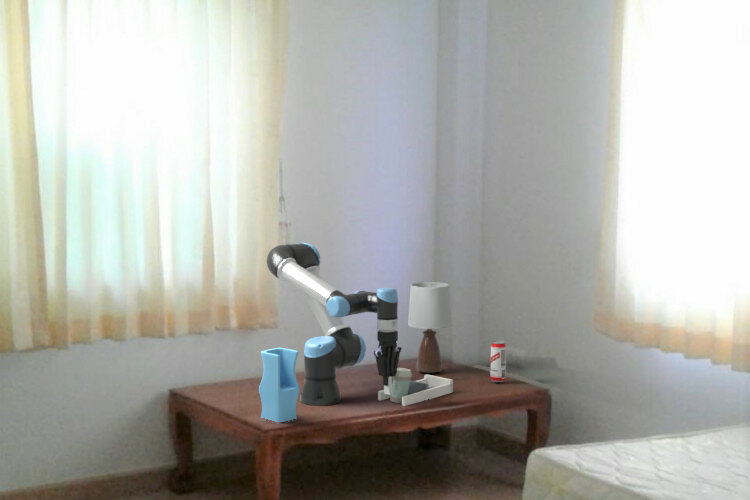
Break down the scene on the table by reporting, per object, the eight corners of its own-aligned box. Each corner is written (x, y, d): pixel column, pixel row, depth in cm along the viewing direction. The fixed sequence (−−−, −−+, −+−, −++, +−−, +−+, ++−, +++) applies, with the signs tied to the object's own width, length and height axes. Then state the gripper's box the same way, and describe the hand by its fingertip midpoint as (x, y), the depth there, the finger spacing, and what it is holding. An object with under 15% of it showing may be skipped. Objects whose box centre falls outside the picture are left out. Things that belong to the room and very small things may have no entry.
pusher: (425, 397, 345) (426, 384, 344) (407, 393, 351) (407, 380, 350) (442, 392, 352) (442, 379, 352) (424, 388, 358) (424, 376, 358)
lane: (404, 407, 333) (404, 393, 332) (378, 400, 341) (378, 387, 341) (452, 392, 354) (453, 379, 353) (427, 386, 363) (427, 374, 362)
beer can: (498, 383, 368) (499, 344, 366) (487, 380, 372) (487, 342, 371) (508, 380, 372) (509, 342, 370) (497, 378, 376) (497, 340, 375)
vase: (278, 428, 306) (277, 355, 304) (259, 423, 313) (258, 351, 310) (299, 422, 314) (299, 351, 311) (280, 416, 320) (279, 347, 318)
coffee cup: (383, 398, 342) (385, 367, 341) (403, 398, 345) (406, 367, 345) (392, 404, 334) (395, 372, 333) (413, 403, 338) (416, 372, 337)
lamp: (410, 364, 402) (410, 281, 398) (452, 365, 399) (452, 282, 395) (405, 374, 383) (405, 287, 380) (449, 375, 381) (450, 288, 377)
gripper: (383, 333, 325) (383, 398, 327) (406, 329, 334) (407, 392, 336) (367, 331, 330) (368, 395, 332) (391, 327, 339) (392, 389, 341)
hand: (388, 393), depth 334 cm, fingers closed
